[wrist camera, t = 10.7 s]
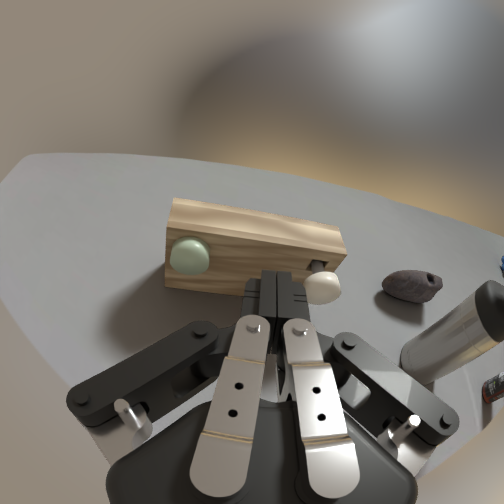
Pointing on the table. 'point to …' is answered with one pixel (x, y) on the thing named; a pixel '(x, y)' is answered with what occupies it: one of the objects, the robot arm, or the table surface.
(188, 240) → the button sage
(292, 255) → the light wood rectangular block
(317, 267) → the button white
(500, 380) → the supplement bottle
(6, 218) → the table surface
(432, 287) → the perforated stone tool
